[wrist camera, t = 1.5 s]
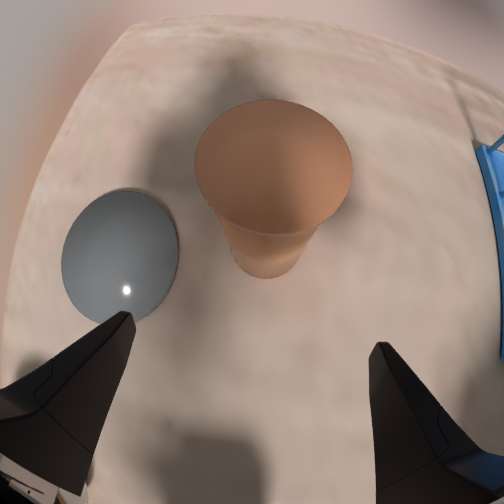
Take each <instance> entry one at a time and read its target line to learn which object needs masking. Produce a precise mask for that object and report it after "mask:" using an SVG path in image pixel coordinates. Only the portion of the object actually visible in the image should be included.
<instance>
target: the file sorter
mask: <svg viewBox="0 0 504 504" xmlns="http://www.w3.org/2000/svg"><path fill="white" fill-rule="evenodd" d="M503 143H504V135H503V136H502V137H501V138H500V139H499V140H497V141H496V142H495V143H494V144H493V145H492V146H491V147H488V146H485V145H481V146H480V147H479V148H478V149H477V150H476V154H477V157H478V160H479V163H480V166H481V170H482V173H483V176H484V180H485V184H486V188H487V192H488V196H489V200H490V204H491V209H492V213H493V219H494V224H495V230H496V236H497V242H498V249H499V258H500V267H501V279H502V299H503V335H502V353H501V360H502V361H504V153H502V152H500V151H498V150H496V149H497V148H498V147H499V146H500V145H501V144H503Z"/></svg>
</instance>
